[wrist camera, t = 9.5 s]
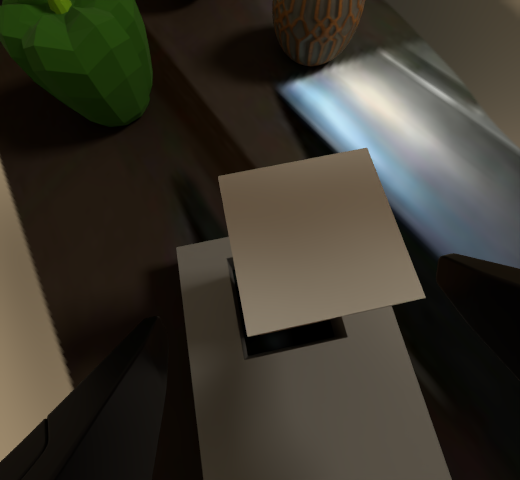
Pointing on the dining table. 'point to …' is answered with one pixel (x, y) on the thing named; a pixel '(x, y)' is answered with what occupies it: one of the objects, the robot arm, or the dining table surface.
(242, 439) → the block with square hole
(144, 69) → the bell pepper
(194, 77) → the dining table surface
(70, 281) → the dining table surface
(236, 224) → the wooden square peg
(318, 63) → the vase
